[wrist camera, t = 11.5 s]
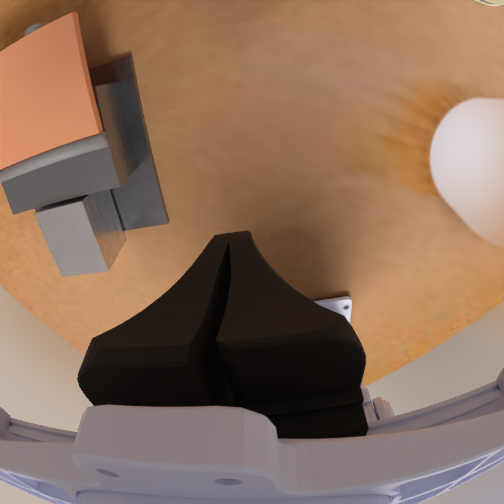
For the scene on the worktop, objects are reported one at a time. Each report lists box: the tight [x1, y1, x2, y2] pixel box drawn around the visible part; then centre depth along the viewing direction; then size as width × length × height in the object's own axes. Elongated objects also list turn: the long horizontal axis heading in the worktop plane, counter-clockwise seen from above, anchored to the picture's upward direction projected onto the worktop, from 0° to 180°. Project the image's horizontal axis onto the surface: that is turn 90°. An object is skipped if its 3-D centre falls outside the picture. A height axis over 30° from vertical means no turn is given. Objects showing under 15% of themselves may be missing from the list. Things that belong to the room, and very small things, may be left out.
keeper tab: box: [0, 12, 109, 183], centre depth 13 cm, size 8×9×1 cm
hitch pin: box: [24, 22, 126, 277], centre depth 16 cm, size 17×4×4 cm, turn 7°
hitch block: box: [2, 56, 169, 231], centre depth 18 cm, size 12×11×4 cm
